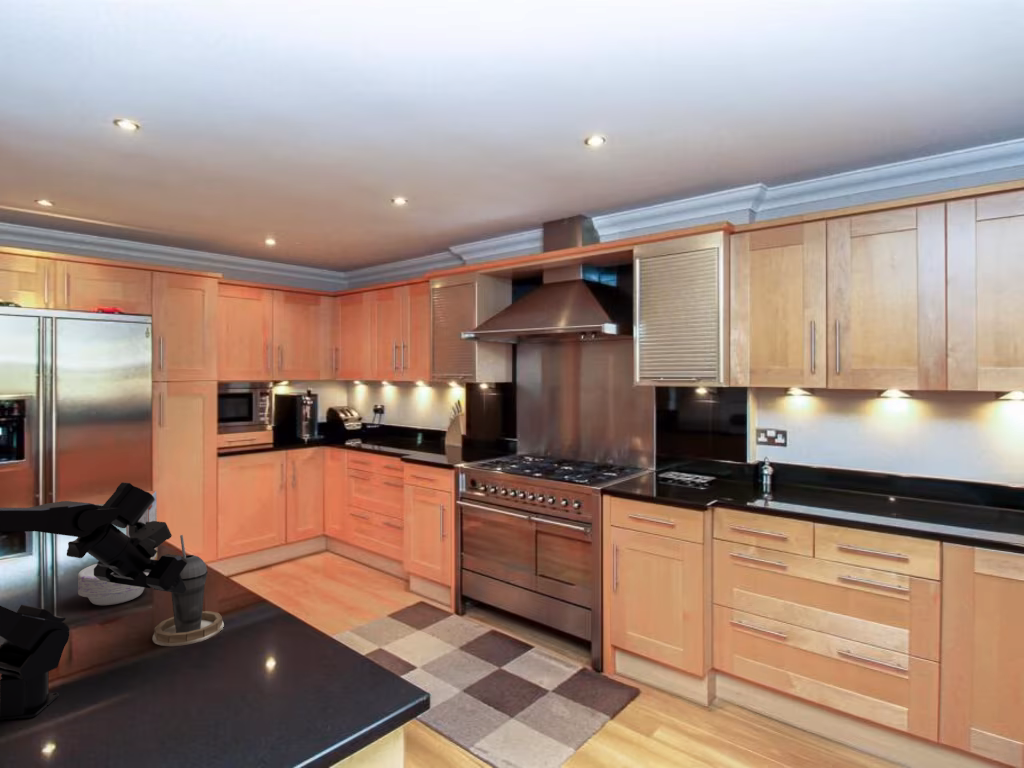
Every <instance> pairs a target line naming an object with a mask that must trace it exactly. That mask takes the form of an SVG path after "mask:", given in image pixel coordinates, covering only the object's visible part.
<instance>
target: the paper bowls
mask: <svg viewBox="0 0 1024 768" xmlns="http://www.w3.org/2000/svg"><path fill="white" fill-rule="evenodd" d="M96 566H97V563H94V564H92V565H89V566H87V567H85V568H83V569H82V570H80V571H79V572H78V574H77V582H78V584H77V585H78V586H77V587H78V588H77V593H78V596H80V597H84V598H88V600H89V601H90V603H92V604H93V605H96V606H111V605H112V606H113V605H118V604H123V603H126V602H129V601H130V602H131V600H134V599H136V598H138V597H139V596H141V595H142V594H143V592H144V591H145V588H144V587H138V586H131V585H124V584H118V583H111V582H107V581H103V580H100V579H98V578H97V577H95V576H94V568H95V567H96ZM144 573H145V574H146V575H148V574H149V573H147V572H144Z"/></svg>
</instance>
